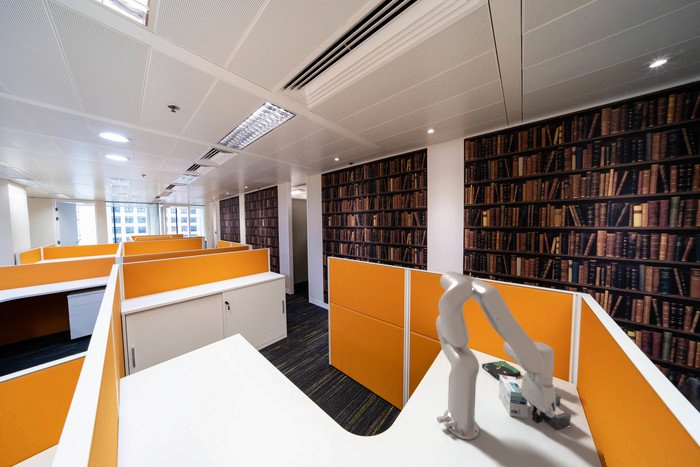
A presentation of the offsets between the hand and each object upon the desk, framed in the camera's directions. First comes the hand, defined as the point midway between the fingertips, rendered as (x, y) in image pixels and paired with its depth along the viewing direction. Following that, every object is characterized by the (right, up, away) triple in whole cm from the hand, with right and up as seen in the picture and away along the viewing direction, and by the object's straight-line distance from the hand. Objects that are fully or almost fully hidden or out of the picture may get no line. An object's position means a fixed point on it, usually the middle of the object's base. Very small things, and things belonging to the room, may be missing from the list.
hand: (536, 420), depth 88 cm
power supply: (+14, -2, +13) cm, 20 cm away
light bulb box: (-2, -3, +10) cm, 11 cm away
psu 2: (+9, -3, +4) cm, 11 cm away
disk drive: (+8, -2, +33) cm, 34 cm away
